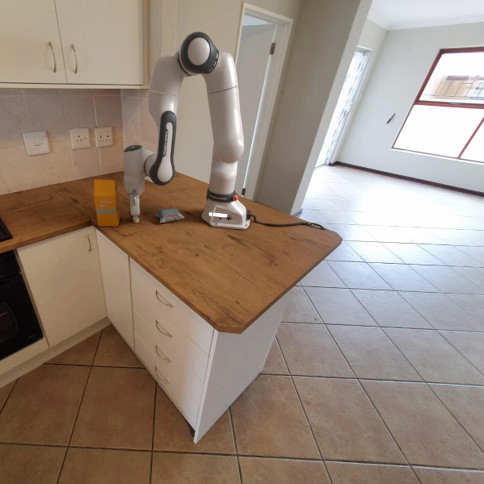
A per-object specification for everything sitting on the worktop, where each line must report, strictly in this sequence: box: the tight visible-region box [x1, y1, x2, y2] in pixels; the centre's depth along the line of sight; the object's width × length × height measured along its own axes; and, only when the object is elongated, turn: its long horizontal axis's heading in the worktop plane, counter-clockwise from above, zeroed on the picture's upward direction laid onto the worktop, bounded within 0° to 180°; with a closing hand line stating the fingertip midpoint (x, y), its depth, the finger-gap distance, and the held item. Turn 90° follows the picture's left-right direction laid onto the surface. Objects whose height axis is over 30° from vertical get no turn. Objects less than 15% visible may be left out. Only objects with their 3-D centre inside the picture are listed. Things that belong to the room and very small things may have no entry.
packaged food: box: [154, 207, 186, 224], centre depth 115 cm, size 9×12×5 cm
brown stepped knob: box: [128, 207, 143, 224], centre depth 113 cm, size 6×6×6 cm
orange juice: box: [93, 178, 121, 227], centre depth 108 cm, size 8×9×20 cm
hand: (135, 215), depth 113 cm, fingers closed on brown stepped knob, 6 cm apart
